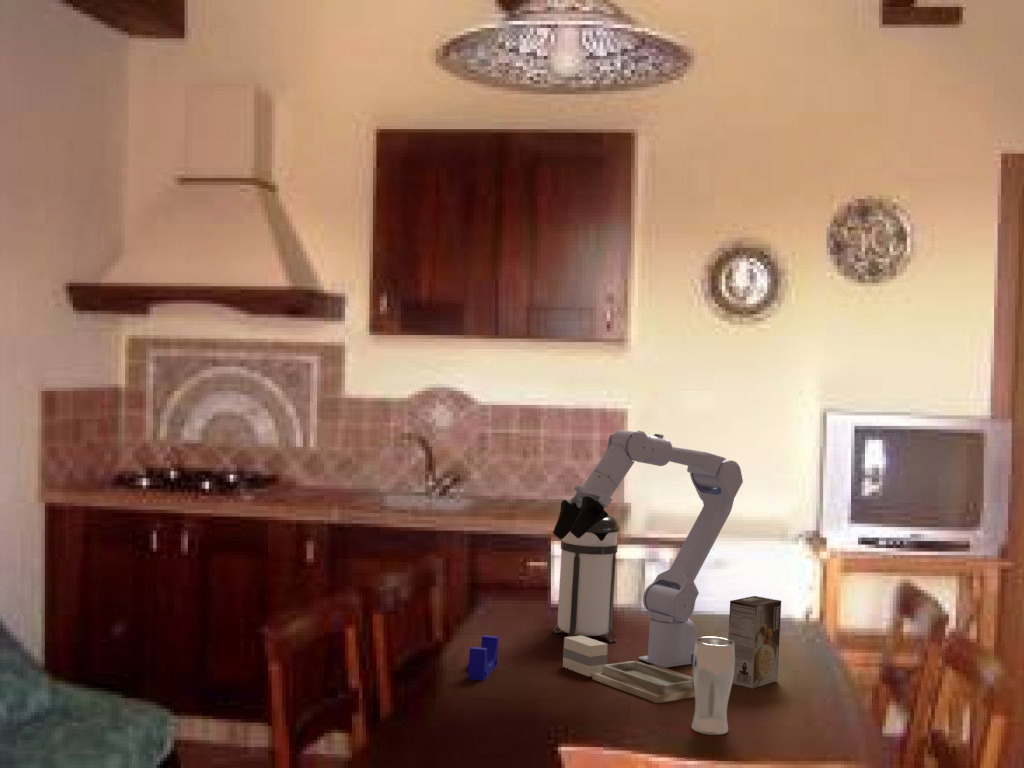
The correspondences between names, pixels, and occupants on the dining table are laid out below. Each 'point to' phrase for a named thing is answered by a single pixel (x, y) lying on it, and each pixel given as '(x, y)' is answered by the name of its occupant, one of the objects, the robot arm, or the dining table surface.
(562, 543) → the coffee press
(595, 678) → the board
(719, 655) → the beer glass
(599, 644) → the cream grey striped block
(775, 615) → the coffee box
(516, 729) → the dining table surface
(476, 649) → the cable clip
